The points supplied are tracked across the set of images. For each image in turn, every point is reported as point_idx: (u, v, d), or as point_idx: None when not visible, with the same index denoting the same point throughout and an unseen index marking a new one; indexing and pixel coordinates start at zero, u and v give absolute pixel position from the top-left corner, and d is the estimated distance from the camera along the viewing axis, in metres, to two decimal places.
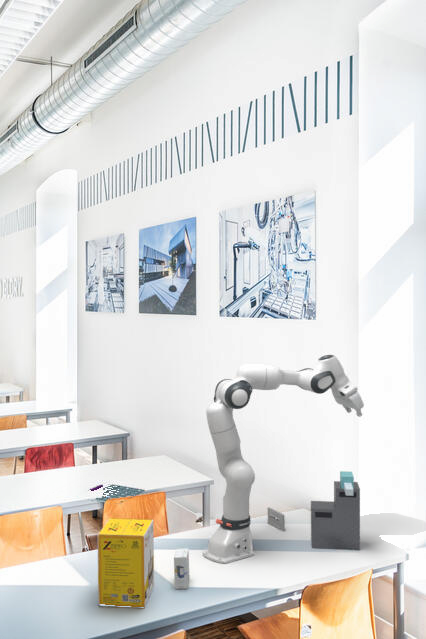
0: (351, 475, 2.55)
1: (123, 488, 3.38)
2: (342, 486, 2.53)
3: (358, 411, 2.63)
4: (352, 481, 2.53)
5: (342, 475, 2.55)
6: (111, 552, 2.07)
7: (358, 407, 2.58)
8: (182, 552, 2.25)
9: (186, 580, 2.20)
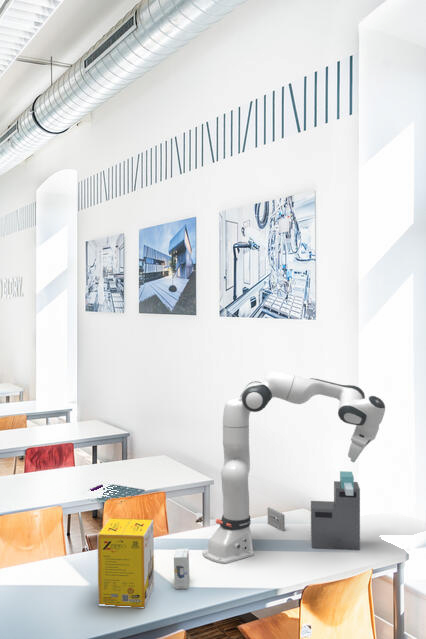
0: (351, 475, 2.55)
1: (123, 488, 3.38)
2: (342, 486, 2.53)
3: None
4: (352, 481, 2.53)
5: (342, 475, 2.55)
6: (111, 552, 2.07)
7: (348, 455, 2.48)
8: (182, 552, 2.25)
9: (186, 580, 2.20)
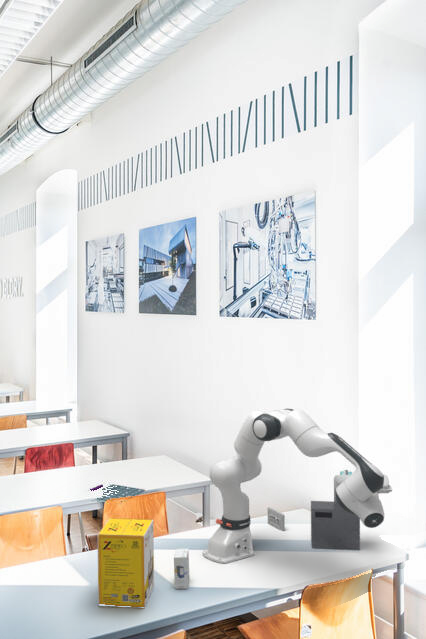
0: None
1: (123, 488, 3.38)
2: None
3: None
4: None
5: None
6: (111, 552, 2.07)
7: (334, 477, 2.29)
8: (182, 552, 2.25)
9: (186, 580, 2.20)
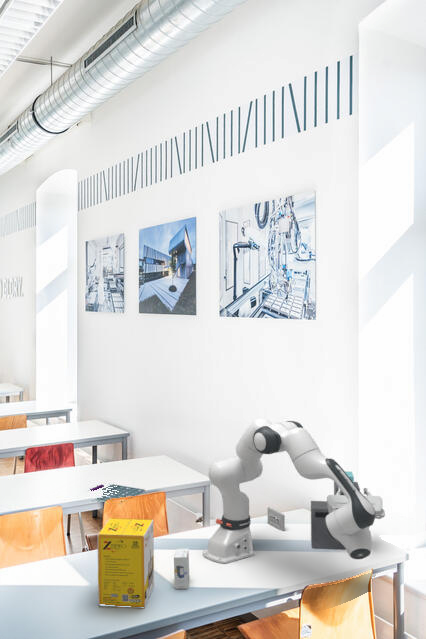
0: (351, 475, 2.55)
1: (123, 488, 3.38)
2: None
3: None
4: (352, 481, 2.53)
5: None
6: (111, 552, 2.07)
7: (327, 497, 2.26)
8: (182, 552, 2.25)
9: (186, 580, 2.20)
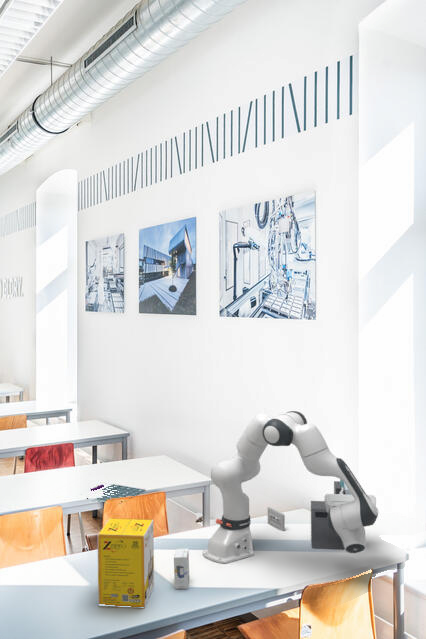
0: None
1: (124, 488, 3.38)
2: (342, 486, 2.53)
3: None
4: None
5: None
6: (111, 552, 2.07)
7: None
8: (182, 552, 2.25)
9: (186, 580, 2.20)
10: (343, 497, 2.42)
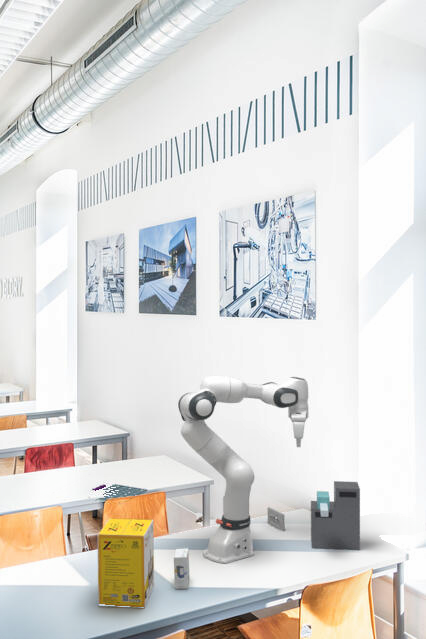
0: (327, 495, 2.56)
1: (126, 488, 3.38)
2: (318, 506, 2.55)
3: (297, 441, 2.62)
4: (328, 501, 2.54)
5: (318, 495, 2.57)
6: (111, 552, 2.07)
7: (295, 436, 2.58)
8: (182, 552, 2.25)
9: (186, 580, 2.20)
10: None
